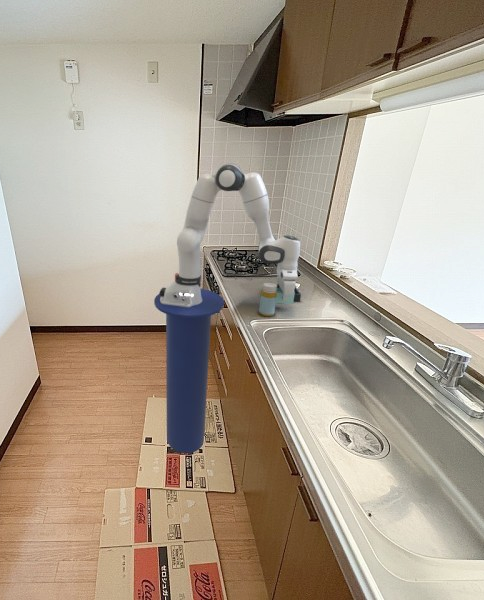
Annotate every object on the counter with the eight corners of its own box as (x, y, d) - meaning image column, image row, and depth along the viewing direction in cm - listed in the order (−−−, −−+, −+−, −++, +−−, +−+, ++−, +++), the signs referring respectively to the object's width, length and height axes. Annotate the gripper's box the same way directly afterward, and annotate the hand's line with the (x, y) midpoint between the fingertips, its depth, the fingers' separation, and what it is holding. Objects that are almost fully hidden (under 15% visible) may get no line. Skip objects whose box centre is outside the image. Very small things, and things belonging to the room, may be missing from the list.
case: (273, 303, 158) (275, 291, 156) (271, 298, 163) (273, 287, 161) (293, 303, 157) (295, 292, 155) (290, 299, 162) (292, 288, 159)
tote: (270, 300, 171) (271, 293, 169) (266, 290, 184) (267, 283, 183) (299, 301, 169) (301, 294, 167) (293, 291, 182) (294, 284, 181)
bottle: (271, 318, 152) (276, 288, 146) (256, 314, 155) (260, 285, 149) (275, 312, 157) (279, 283, 151) (261, 309, 161) (264, 281, 155)
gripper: (275, 263, 164) (272, 289, 169) (284, 277, 145) (280, 305, 151) (288, 264, 163) (285, 289, 168) (298, 277, 144) (294, 306, 150)
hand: (282, 297), depth 159 cm, fingers closed on case, 5 cm apart
